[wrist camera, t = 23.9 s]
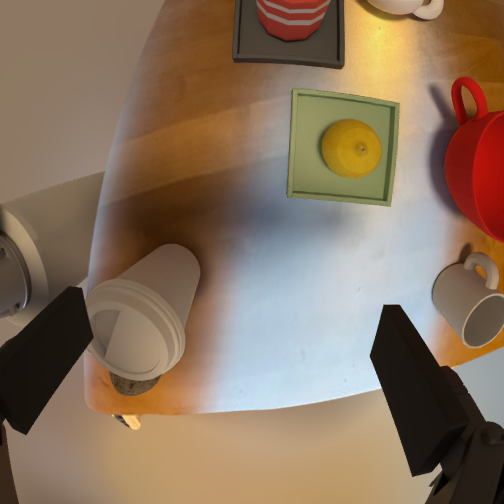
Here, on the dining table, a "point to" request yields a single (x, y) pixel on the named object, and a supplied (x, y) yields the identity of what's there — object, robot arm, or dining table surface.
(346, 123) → the fruit
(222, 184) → the dining table surface
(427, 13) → the mug
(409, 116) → the dining table surface
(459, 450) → the robot arm
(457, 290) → the cup
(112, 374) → the decorative egg
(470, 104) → the dining table surface
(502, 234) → the ceramic cup
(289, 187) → the green tray
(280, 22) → the beverage can
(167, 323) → the coffee cup
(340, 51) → the charcoal tray
